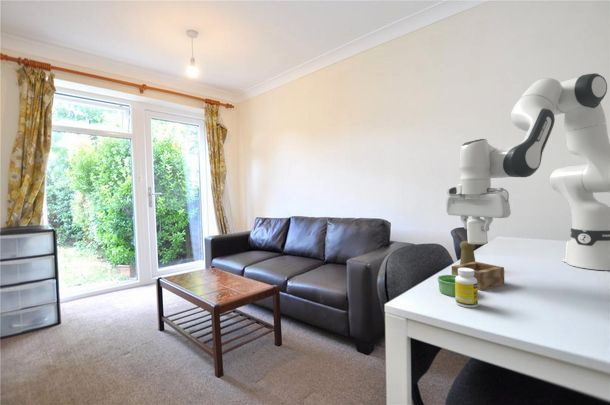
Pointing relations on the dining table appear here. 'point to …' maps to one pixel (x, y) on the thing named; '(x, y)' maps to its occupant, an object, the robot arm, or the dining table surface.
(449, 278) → the ramekin
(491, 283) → the walnut holder
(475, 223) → the eye dropper bottle
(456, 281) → the supplement bottle
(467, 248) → the cork
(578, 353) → the dining table surface
